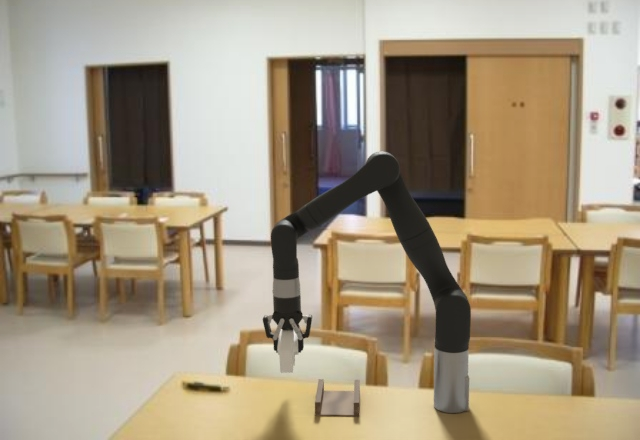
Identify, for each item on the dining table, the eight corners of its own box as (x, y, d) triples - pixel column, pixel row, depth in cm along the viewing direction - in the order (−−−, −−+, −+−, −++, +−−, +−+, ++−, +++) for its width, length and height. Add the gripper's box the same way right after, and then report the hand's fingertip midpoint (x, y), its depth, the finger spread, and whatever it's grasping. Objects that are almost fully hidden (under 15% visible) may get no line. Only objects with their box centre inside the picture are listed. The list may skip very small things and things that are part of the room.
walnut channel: (359, 392, 211) (359, 379, 210) (359, 416, 195) (359, 402, 195) (318, 391, 212) (318, 379, 211) (315, 415, 196) (314, 402, 195)
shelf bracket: (301, 343, 216) (299, 306, 212) (297, 393, 193) (295, 352, 188) (283, 344, 216) (281, 307, 212) (277, 393, 193) (274, 352, 189)
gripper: (313, 289, 201) (315, 347, 204) (262, 289, 202) (264, 347, 205) (311, 296, 194) (313, 356, 197) (258, 297, 195) (261, 356, 197)
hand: (288, 351), depth 201 cm, fingers closed on shelf bracket, 5 cm apart
